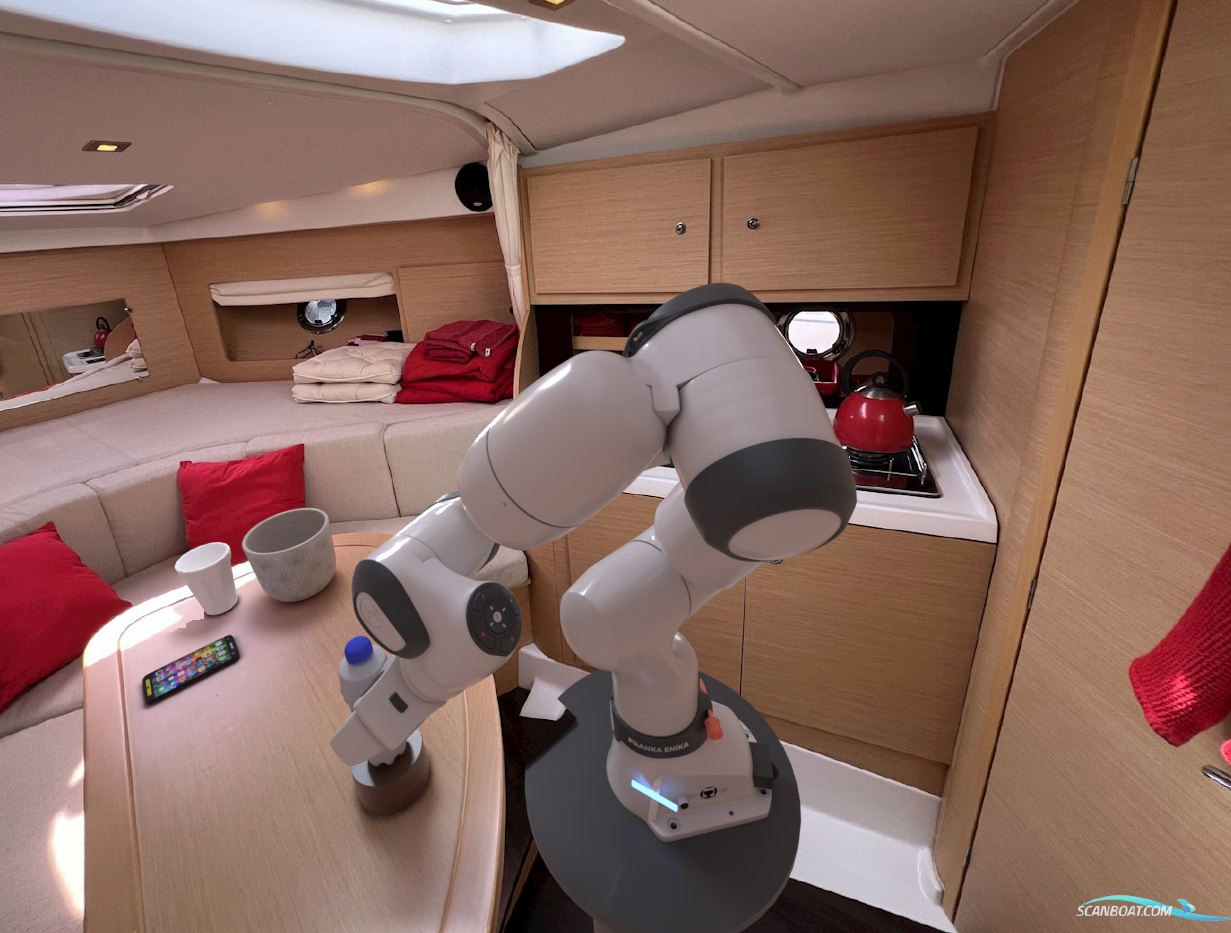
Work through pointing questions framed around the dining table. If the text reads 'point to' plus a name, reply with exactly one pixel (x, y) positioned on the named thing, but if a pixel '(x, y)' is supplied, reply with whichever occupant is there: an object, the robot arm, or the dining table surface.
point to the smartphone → (189, 669)
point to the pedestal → (393, 779)
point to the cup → (209, 576)
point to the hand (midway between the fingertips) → (385, 696)
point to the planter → (292, 553)
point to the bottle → (364, 681)
